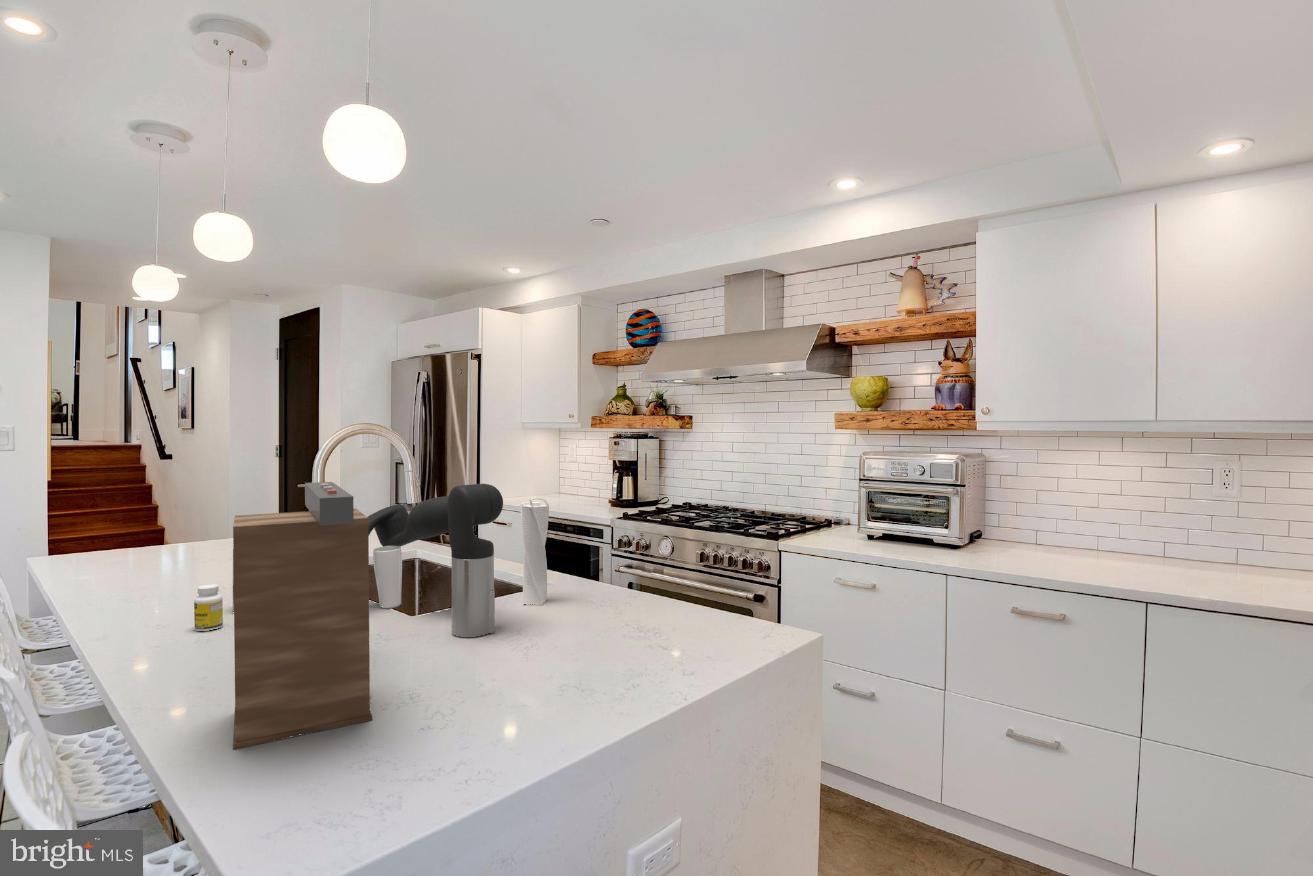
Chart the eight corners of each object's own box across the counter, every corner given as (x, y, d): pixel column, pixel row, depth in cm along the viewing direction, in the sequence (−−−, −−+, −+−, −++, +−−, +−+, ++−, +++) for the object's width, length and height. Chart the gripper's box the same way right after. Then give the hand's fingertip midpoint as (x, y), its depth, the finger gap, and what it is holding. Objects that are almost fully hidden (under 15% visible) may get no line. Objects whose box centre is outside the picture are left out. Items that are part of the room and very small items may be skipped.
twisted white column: (546, 607, 172) (546, 498, 172) (517, 606, 172) (517, 497, 172) (551, 599, 180) (551, 494, 180) (523, 598, 180) (523, 494, 180)
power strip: (305, 504, 123) (304, 480, 123) (332, 503, 126) (332, 479, 125) (319, 525, 98) (319, 494, 97) (353, 523, 100) (353, 493, 100)
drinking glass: (378, 611, 168) (374, 552, 167) (374, 605, 174) (371, 548, 173) (406, 607, 172) (403, 549, 171) (402, 600, 177) (399, 544, 176)
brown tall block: (234, 712, 109) (232, 515, 108) (359, 689, 119) (357, 508, 118) (233, 749, 96) (230, 527, 96) (372, 720, 106) (370, 518, 106)
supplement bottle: (188, 630, 152) (188, 587, 152) (212, 624, 157) (212, 582, 157) (204, 633, 150) (204, 590, 150) (228, 626, 155) (227, 584, 155)
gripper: (350, 557, 140) (364, 534, 128) (271, 563, 132) (278, 540, 120) (347, 522, 143) (361, 497, 131) (270, 527, 135) (277, 500, 123)
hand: (321, 518), depth 125 cm, fingers open, 8 cm apart
